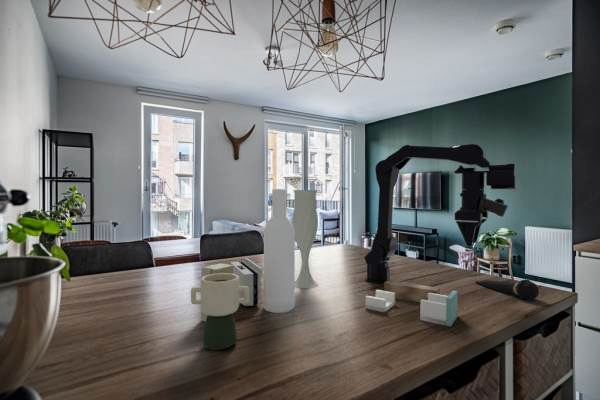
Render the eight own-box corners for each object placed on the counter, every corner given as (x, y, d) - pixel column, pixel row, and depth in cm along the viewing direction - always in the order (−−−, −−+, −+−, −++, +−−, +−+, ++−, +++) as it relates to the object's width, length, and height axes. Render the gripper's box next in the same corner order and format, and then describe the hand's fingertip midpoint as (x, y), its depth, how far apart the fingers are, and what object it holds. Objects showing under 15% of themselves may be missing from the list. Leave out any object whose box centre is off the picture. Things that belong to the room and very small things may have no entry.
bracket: (230, 292, 99) (230, 258, 98) (246, 290, 101) (246, 257, 100) (243, 310, 83) (243, 270, 83) (262, 307, 85) (262, 268, 85)
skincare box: (213, 325, 74) (213, 269, 74) (200, 321, 76) (199, 267, 76) (234, 316, 79) (234, 264, 79) (220, 312, 82) (220, 262, 81)
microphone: (472, 294, 108) (533, 305, 90) (466, 277, 108) (525, 285, 90) (484, 287, 110) (546, 297, 91) (479, 270, 110) (539, 277, 91)
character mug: (250, 336, 68) (250, 272, 68) (247, 353, 61) (247, 281, 61) (195, 338, 67) (195, 273, 67) (185, 355, 60) (185, 282, 60)
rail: (384, 296, 95) (384, 282, 95) (388, 293, 98) (388, 280, 98) (436, 306, 88) (436, 291, 87) (439, 302, 90) (439, 287, 90)
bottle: (296, 303, 89) (296, 189, 88) (293, 313, 81) (293, 188, 80) (266, 302, 89) (266, 189, 89) (260, 312, 81) (260, 188, 81)
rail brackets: (365, 308, 85) (365, 284, 85) (376, 300, 91) (377, 278, 91) (450, 326, 73) (451, 299, 73) (457, 316, 80) (457, 291, 79)
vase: (286, 286, 105) (287, 190, 104) (297, 280, 113) (297, 190, 112) (313, 289, 102) (313, 190, 101) (322, 282, 109) (322, 190, 109)
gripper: (503, 188, 83) (502, 251, 83) (508, 189, 98) (507, 243, 99) (454, 189, 90) (453, 247, 90) (466, 189, 105) (465, 239, 105)
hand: (472, 244), depth 96 cm, fingers open, 9 cm apart
